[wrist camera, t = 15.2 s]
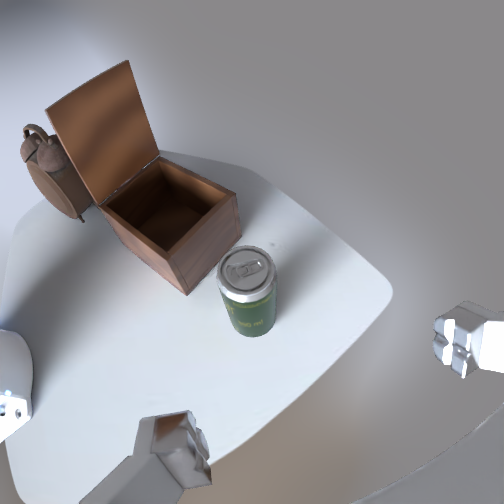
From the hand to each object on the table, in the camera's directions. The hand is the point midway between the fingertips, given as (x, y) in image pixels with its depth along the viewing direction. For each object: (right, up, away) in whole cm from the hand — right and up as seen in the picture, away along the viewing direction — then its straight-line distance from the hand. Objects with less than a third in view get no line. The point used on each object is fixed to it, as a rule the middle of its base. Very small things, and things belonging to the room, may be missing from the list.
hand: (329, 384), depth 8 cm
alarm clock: (-34, +12, +41) cm, 55 cm away
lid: (-20, +18, +23) cm, 36 cm away
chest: (-13, +6, +35) cm, 38 cm away
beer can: (-2, -4, +28) cm, 28 cm away
